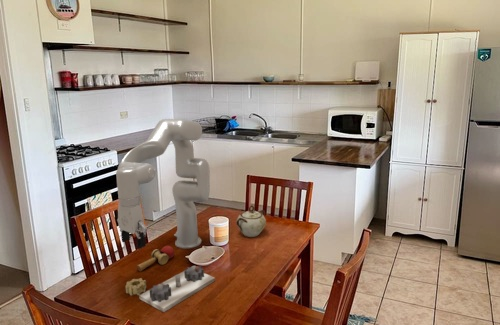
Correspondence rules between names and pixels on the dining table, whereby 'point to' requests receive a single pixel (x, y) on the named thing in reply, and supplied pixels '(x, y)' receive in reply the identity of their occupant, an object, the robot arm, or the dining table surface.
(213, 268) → the dining table surface
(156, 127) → the robot arm
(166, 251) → the kendama
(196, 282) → the gear board
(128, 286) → the brass gear
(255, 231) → the teapot
